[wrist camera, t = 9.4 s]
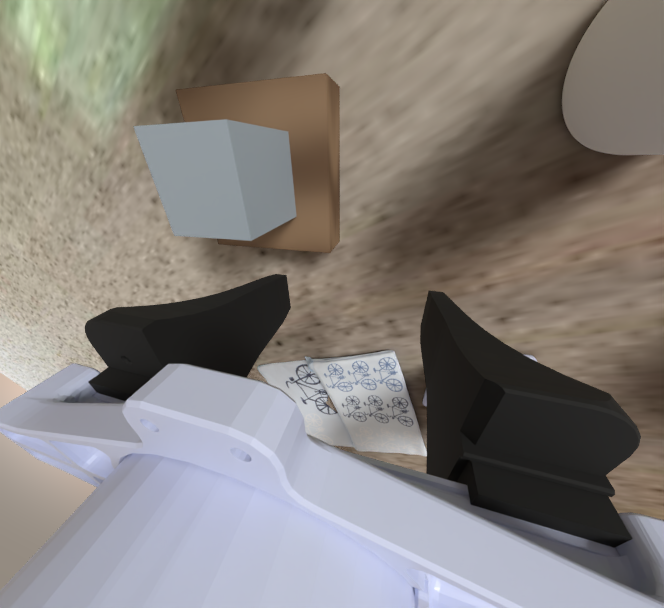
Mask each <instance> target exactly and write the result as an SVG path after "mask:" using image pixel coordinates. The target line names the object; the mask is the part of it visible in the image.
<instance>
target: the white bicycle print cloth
mask: <svg viewBox="0 0 664 608" xmlns="http://www.w3.org/2000/svg"><path fill="white" fill-rule="evenodd" d="M305 359H306V360H300V361H291V362H280V363H270V364H264V365H259V366H258V367H257V368H258V371H259V372H260V373H261V374H262V376H263V377H264V378H265V379H266V381H267V382H268V384H270V385H273V386H275V387H278V388H280V389H282V390H283V391H284V392H285V393H286V394H288V395H289V396H290V397H291V398H292V399H294V400H295V402H296V404H297V406H298V407H299V409H300V411H301V413H302V415H303V417H304V423H305V431H306V433H307V434H309V435H311V436H313V437H316V438H318V439H320V440H322V441H324V442H326V443H328V444H330V445H334V446H346V447H354V448H355V449H356V450H357V451H363V452H365V451H373V452H385V453H405V454H418V455H422V456H427V451H426V448H425V445H424V442H423V439H422V436H421V432H420V429H419V425H418V421H417V418H416V415H415V412H414V409H413V406H412V403H411V400H410V397H409V393H408V390H407V387H406V384H405V380H404V377H403V374H402V371H401V368H400V365H399V363H398V360H397V358H396V355H395V351H393V350H386V351H380V352H376V353H369V354H362V355H355V356H345V357H335V358H323V359H312V358H311V357H306V356H305ZM328 395H329V397H330V399H331V400H332V402H333V404H334V406H335V408H336V410H337V412H338V413H337V412H336V411H334V410H333V409H331V408H330V407H329V406H328V405H327V404H326V401H328V400H327V398H328Z"/></svg>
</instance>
